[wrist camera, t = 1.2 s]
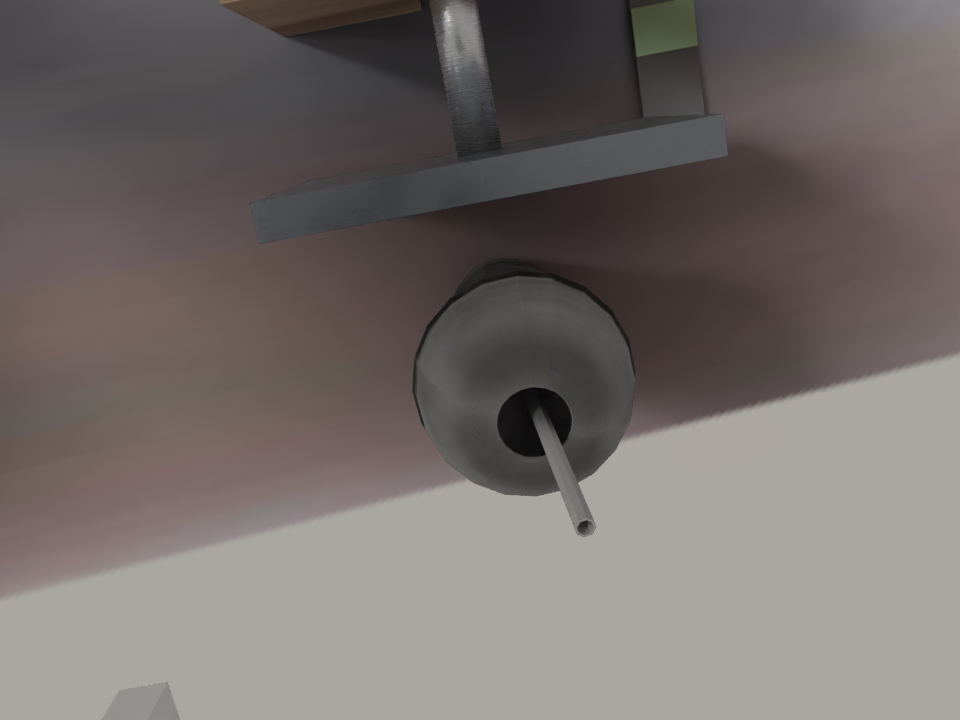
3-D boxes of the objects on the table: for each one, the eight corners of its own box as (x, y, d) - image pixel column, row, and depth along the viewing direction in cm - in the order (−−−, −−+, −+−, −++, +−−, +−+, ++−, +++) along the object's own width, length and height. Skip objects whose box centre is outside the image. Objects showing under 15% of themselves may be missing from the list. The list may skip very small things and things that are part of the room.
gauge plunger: (695, 138, 34) (789, 144, 25) (314, 210, 35) (259, 243, 25) (665, -134, 31) (758, -248, 22) (252, -53, 32) (164, -130, 22)
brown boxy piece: (704, 125, 36) (792, 126, 27) (322, 197, 37) (274, 223, 27) (672, -177, 33) (760, -299, 24) (254, -95, 34) (174, -181, 24)
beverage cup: (514, 193, 37) (577, 268, 18) (616, 315, 39) (774, 505, 19) (391, 299, 38) (325, 478, 19) (495, 414, 40) (532, 686, 21)
